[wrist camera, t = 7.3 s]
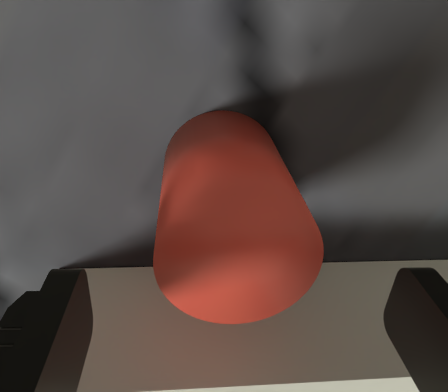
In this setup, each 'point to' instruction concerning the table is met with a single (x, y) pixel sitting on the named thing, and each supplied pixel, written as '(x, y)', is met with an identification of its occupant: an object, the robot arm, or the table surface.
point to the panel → (247, 337)
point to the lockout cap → (232, 224)
